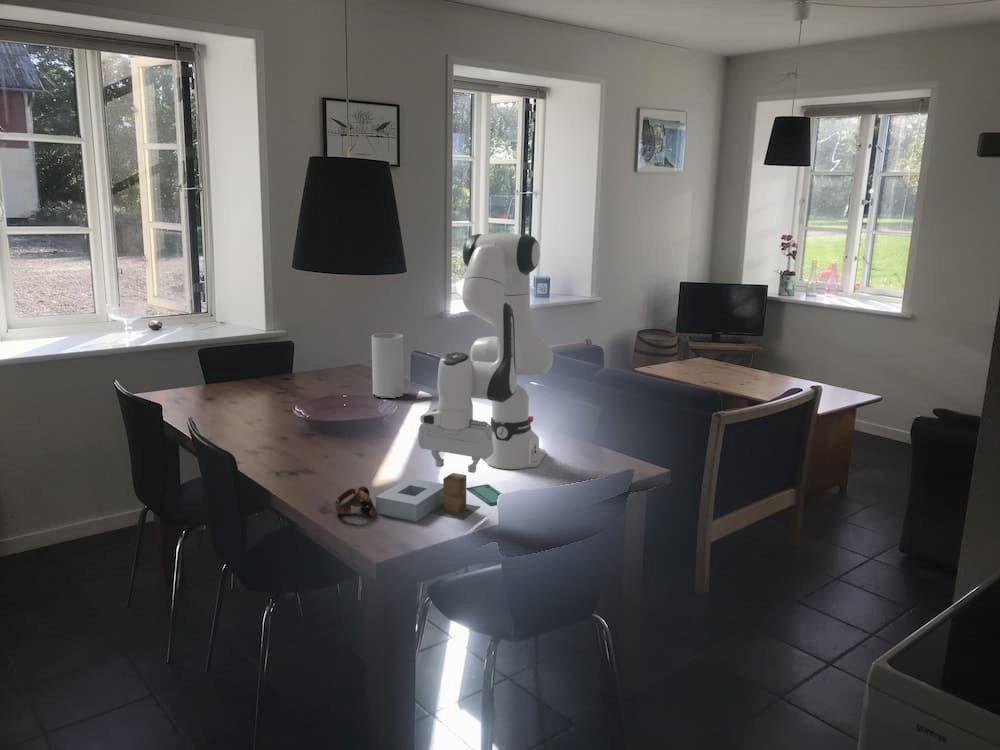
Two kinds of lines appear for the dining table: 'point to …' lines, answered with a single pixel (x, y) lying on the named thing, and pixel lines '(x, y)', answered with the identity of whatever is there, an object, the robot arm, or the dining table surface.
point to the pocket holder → (410, 499)
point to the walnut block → (454, 493)
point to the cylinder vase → (387, 364)
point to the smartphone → (485, 494)
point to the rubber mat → (461, 515)
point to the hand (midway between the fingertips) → (455, 469)
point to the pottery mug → (354, 500)
